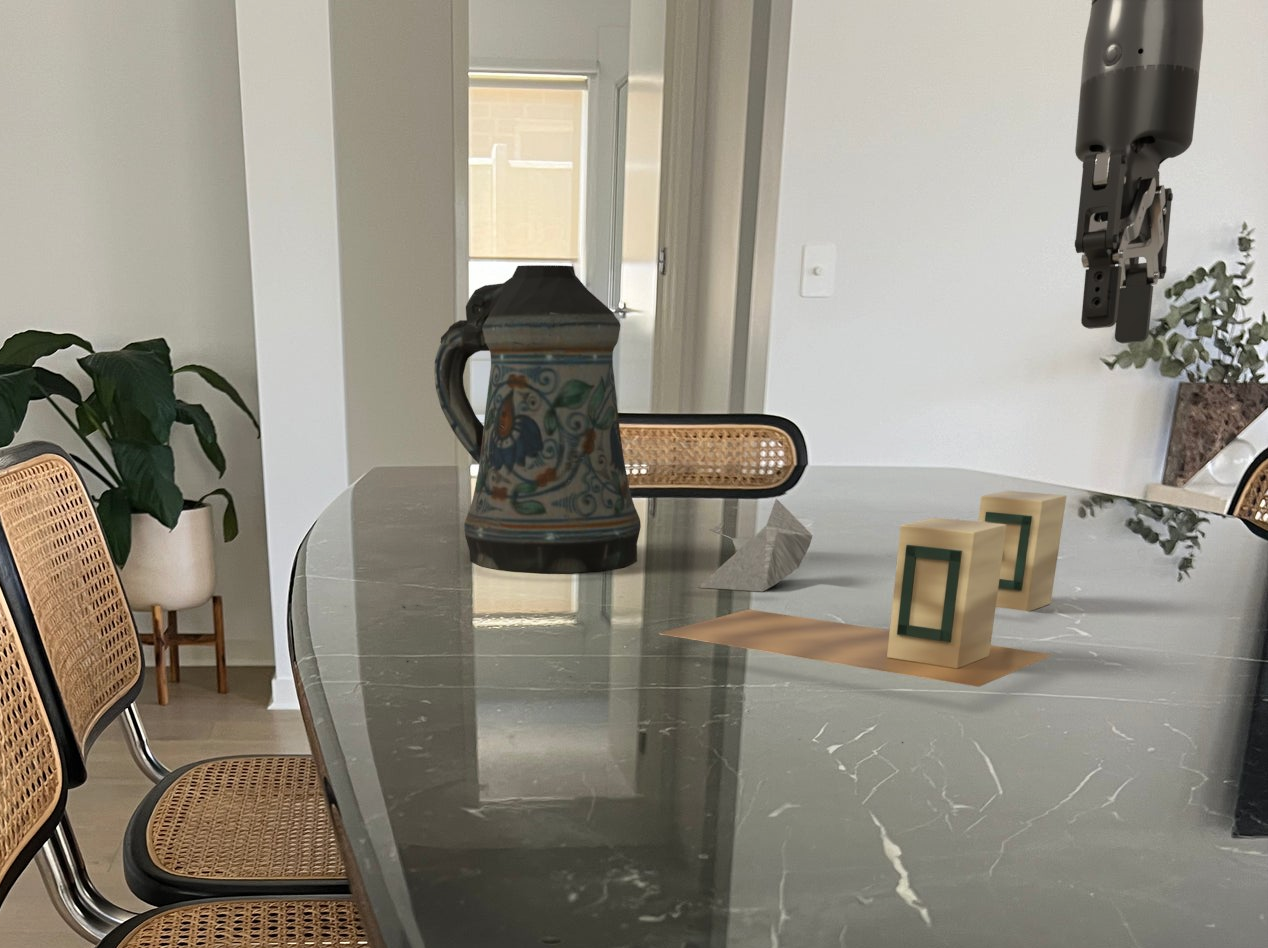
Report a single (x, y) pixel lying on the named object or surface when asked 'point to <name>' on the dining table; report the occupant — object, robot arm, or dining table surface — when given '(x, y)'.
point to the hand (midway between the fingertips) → (1115, 335)
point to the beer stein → (541, 426)
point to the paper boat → (763, 554)
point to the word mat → (844, 646)
